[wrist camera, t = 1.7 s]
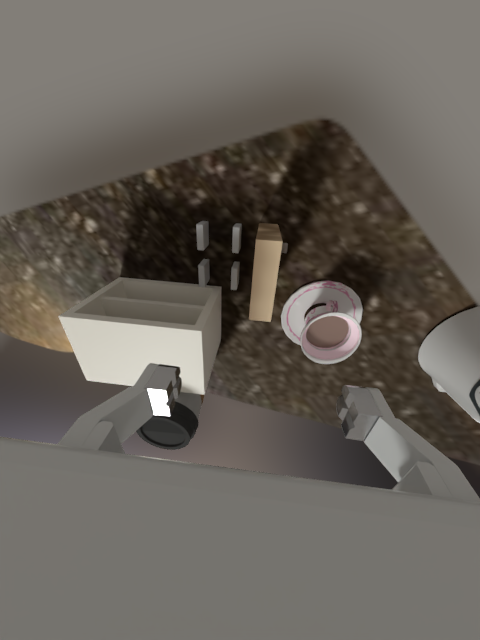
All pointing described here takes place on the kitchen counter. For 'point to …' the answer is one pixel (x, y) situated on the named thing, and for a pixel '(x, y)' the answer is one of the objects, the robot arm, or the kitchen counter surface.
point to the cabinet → (151, 325)
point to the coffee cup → (174, 423)
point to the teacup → (324, 321)
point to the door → (265, 271)
